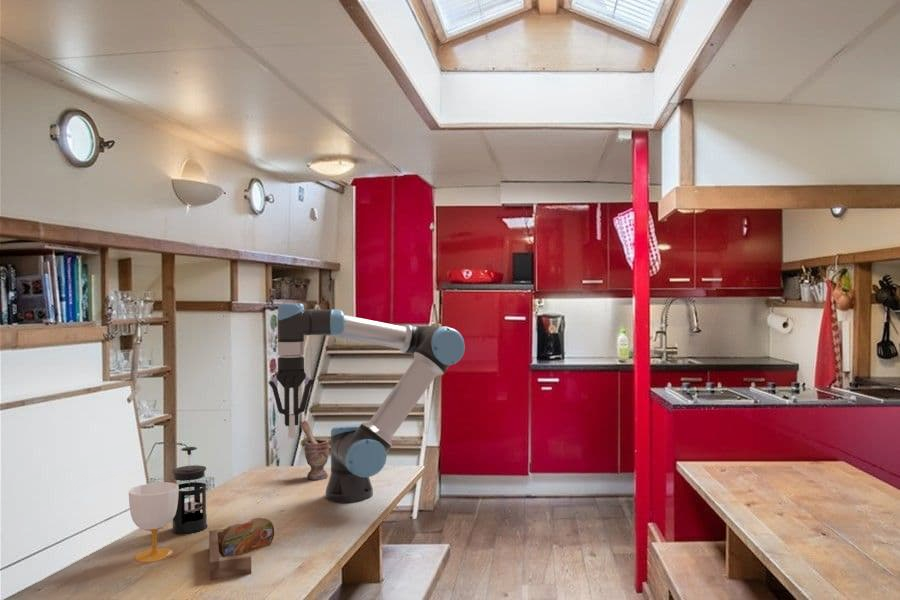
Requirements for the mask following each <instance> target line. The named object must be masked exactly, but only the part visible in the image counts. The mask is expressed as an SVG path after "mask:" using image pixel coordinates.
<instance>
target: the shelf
mask: <svg viewBox="0 0 900 600" xmlns="http://www.w3.org/2000/svg"><path fill="white" fill-rule="evenodd" d="M225 529H226V528H221V529H213V530H209V531H208V533H209V535H208V539H209V540H208V543H209V544H208V551H209V555H208V556H209V580H210V581H213V580H214V581H215V580H221V579H225V578H232V577H238V576H244V575H250V574H251V575H252V555H251V554H252V553H245V554H242V555H237V556H229V557H223V556H221V557H220V552H219V548H218V540H219V537H220V535H221V533H222V532H223V531H224V530H225Z"/></svg>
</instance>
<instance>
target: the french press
mask: <svg viewBox="0 0 900 600" xmlns="http://www.w3.org/2000/svg"><path fill="white" fill-rule="evenodd" d="M197 449H198V448H197V447H196V446H186V447H182V448H181V451H183V452H187V456H188V465H184V466H179V467H176V468H174V469H173V470H171V471H172V474H173V479H174V480H175V481H180V482H183V481H184V482H185V481H187V482H185V483H184V482H183V483H180V484H177V485H178V486H179V494H178V505H177V511H176V514H175V516H174V518H173V520H172V528H171V532H172V533H173V534H175V535H179V534H180V535H181V534H187V535H192V533H193V534H197V532H198V533H201V532H203V531H205V530H206V529H207V528H208V521H207V484H206V483H205V482H199V481H197V482H196V481H194V480H199V479H202V478H204V477H205V475H206V474H205V471H206V470H207V467H206V466H204V465H199V464H198V465H196V464H195V465H191V455H192V451H195V450H197ZM191 481H193V482H191ZM186 488H188V490H181V489H186ZM191 488H193V490H192V489H191ZM186 496H187V497H188V501H187V502H186V501H185V498H186ZM191 496H193V498H194V500H193V501H191ZM201 497H202V498H201ZM201 510H202V511H201ZM200 531H201V532H200Z"/></svg>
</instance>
